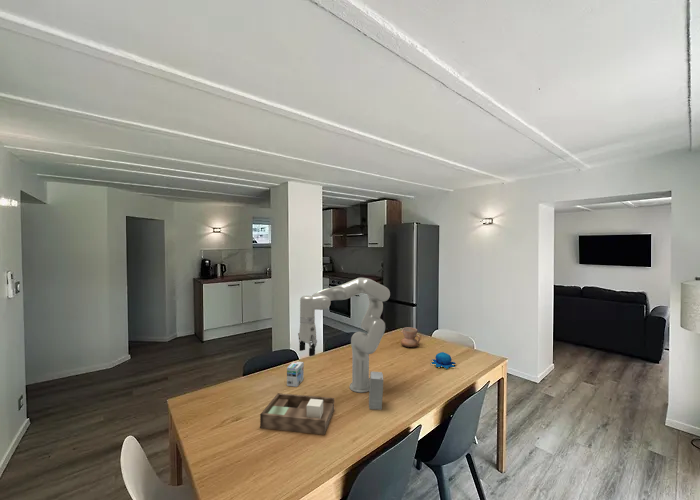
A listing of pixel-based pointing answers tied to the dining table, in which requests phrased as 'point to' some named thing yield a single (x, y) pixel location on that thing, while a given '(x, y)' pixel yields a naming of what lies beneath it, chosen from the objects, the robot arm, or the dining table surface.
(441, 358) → the plush toy
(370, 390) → the skincare box
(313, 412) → the cream block
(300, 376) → the light bulb box
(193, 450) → the dining table surface
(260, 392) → the dining table surface
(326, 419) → the box
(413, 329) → the ceramic jug
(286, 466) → the dining table surface
